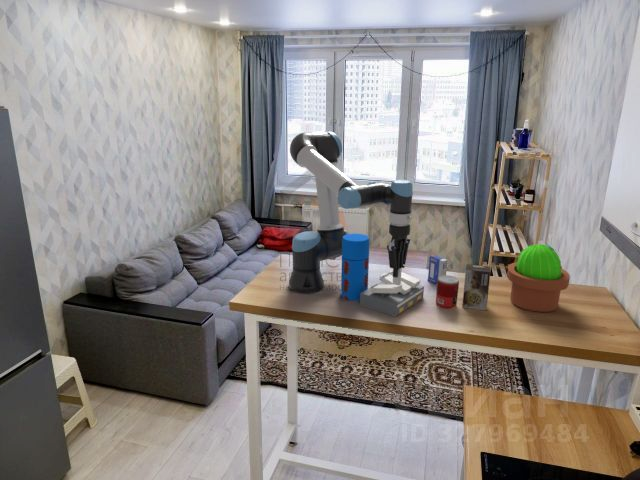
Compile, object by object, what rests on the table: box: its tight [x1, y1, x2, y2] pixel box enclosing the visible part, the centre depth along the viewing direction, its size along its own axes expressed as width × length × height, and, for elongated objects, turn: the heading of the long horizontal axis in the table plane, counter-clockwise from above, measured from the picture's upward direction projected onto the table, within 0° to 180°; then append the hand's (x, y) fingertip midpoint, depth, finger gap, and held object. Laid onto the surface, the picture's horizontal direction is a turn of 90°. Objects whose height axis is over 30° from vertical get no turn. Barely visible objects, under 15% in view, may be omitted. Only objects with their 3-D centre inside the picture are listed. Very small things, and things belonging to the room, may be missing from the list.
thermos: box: [340, 233, 370, 302], centre depth 188 cm, size 11×11×25 cm
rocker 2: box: [379, 272, 411, 295], centre depth 183 cm, size 12×4×2 cm, turn 51°
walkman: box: [427, 254, 448, 285], centre depth 202 cm, size 8×3×12 cm, turn 32°
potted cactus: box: [506, 243, 571, 313], centre depth 181 cm, size 22×22×25 cm
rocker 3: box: [388, 269, 421, 288], centre depth 188 cm, size 12×4×2 cm, turn 51°
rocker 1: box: [368, 283, 403, 293], centre depth 178 cm, size 12×4×2 cm, turn 50°
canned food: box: [435, 274, 460, 309], centre depth 181 cm, size 8×8×11 cm
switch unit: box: [359, 281, 425, 318], centre depth 185 cm, size 16×22×7 cm
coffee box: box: [461, 263, 492, 311], centre depth 180 cm, size 9×6×16 cm
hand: (396, 284), depth 174 cm, fingers closed
